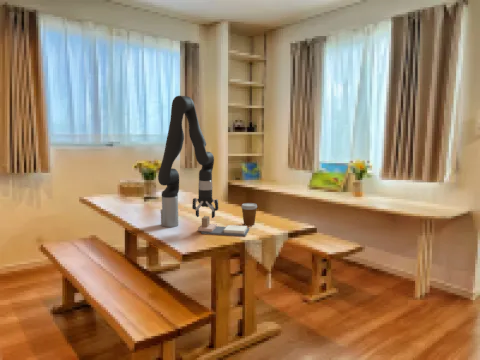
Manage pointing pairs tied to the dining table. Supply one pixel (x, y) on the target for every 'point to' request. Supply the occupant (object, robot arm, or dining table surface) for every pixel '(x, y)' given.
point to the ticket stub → (207, 225)
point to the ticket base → (219, 232)
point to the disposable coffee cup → (249, 213)
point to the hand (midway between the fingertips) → (205, 217)
